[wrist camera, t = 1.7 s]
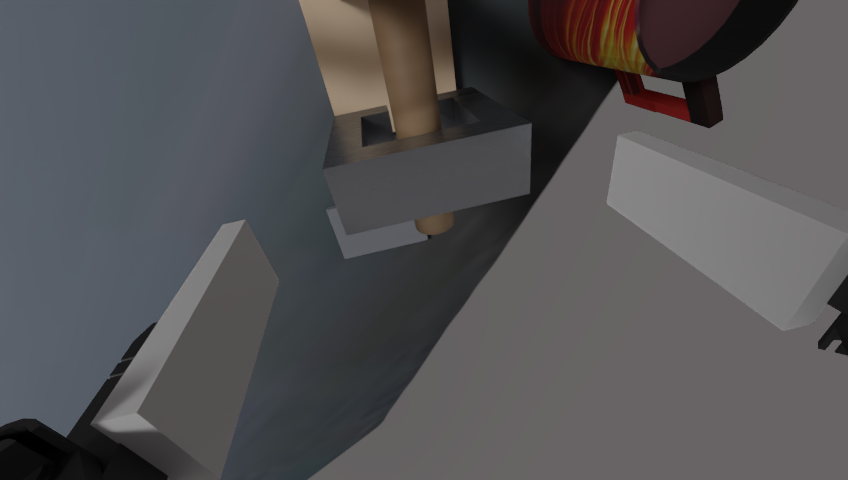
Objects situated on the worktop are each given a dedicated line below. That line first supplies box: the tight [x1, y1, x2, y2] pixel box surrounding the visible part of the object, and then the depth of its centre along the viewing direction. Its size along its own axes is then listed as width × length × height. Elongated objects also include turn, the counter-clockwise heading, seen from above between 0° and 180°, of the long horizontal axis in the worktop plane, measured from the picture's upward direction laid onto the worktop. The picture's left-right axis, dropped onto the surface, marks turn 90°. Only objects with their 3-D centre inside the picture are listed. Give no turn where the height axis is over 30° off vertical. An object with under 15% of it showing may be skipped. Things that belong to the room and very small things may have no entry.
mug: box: [528, 0, 798, 128], centre depth 22 cm, size 10×14×12 cm
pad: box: [326, 205, 428, 259], centre depth 34 cm, size 6×9×1 cm, turn 100°
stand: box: [299, 0, 456, 235], centre depth 18 cm, size 13×10×20 cm
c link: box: [322, 87, 532, 236], centre depth 16 cm, size 8×3×8 cm, turn 100°
